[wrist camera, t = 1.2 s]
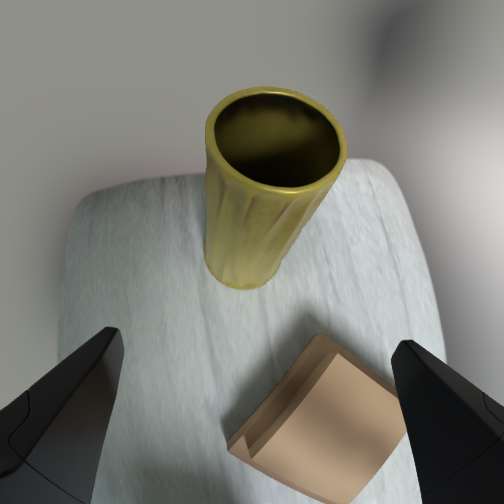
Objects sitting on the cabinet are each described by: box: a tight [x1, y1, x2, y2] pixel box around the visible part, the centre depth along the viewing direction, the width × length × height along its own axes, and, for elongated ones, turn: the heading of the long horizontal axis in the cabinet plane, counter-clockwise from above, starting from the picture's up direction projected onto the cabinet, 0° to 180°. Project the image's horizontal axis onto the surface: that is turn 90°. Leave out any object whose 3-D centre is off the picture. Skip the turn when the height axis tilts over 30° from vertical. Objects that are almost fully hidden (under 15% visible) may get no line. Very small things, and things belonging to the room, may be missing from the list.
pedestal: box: [227, 333, 407, 504], centre depth 18 cm, size 11×11×4 cm
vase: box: [204, 87, 348, 290], centre depth 16 cm, size 6×6×14 cm
